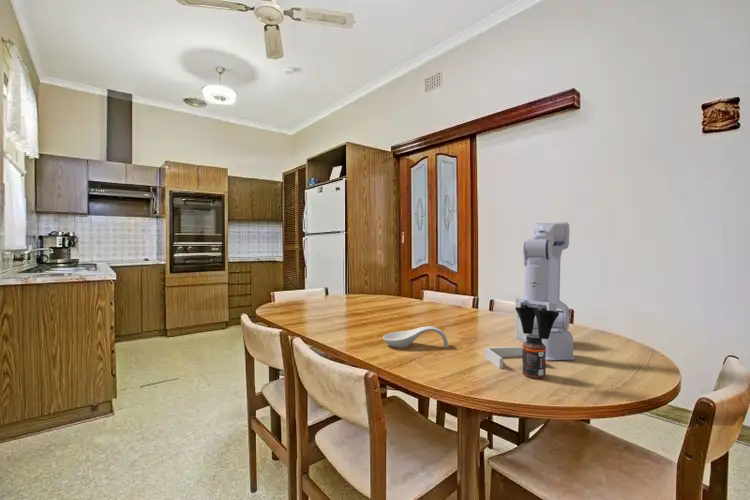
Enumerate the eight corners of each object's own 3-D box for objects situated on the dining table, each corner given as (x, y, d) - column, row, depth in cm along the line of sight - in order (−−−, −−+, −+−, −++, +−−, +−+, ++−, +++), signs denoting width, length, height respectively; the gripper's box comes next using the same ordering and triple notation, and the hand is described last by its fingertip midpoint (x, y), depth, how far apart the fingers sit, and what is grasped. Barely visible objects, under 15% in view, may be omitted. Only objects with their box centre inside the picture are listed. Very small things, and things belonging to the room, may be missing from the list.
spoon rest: (382, 350, 123) (382, 330, 123) (383, 341, 135) (383, 322, 135) (450, 351, 122) (450, 331, 122) (445, 342, 134) (445, 323, 133)
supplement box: (552, 344, 130) (552, 299, 130) (529, 345, 128) (530, 299, 128) (535, 337, 139) (535, 295, 139) (514, 339, 137) (514, 296, 137)
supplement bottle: (548, 380, 95) (548, 339, 95) (524, 378, 96) (525, 337, 96) (542, 372, 101) (542, 333, 101) (520, 371, 102) (520, 332, 102)
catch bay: (524, 355, 117) (524, 346, 117) (543, 366, 106) (543, 356, 106) (484, 356, 115) (484, 347, 115) (499, 368, 104) (499, 358, 104)
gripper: (509, 282, 100) (507, 331, 99) (537, 283, 85) (536, 340, 84) (532, 284, 100) (531, 332, 99) (565, 285, 86) (563, 341, 85)
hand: (535, 336), depth 92 cm, fingers open, 7 cm apart
